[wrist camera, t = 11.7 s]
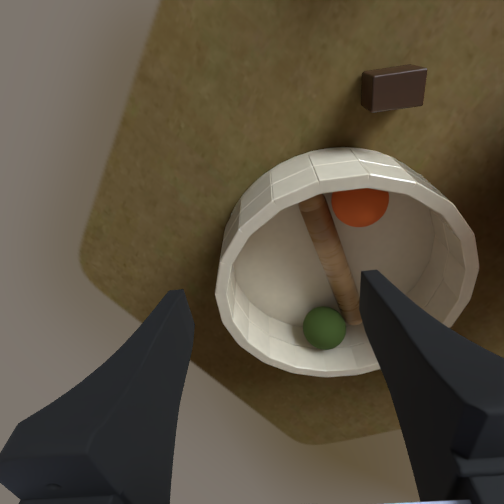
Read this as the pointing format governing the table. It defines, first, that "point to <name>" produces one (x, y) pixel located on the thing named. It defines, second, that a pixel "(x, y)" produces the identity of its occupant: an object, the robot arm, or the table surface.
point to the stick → (331, 256)
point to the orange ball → (360, 206)
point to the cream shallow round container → (356, 251)
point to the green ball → (324, 328)
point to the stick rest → (393, 88)
